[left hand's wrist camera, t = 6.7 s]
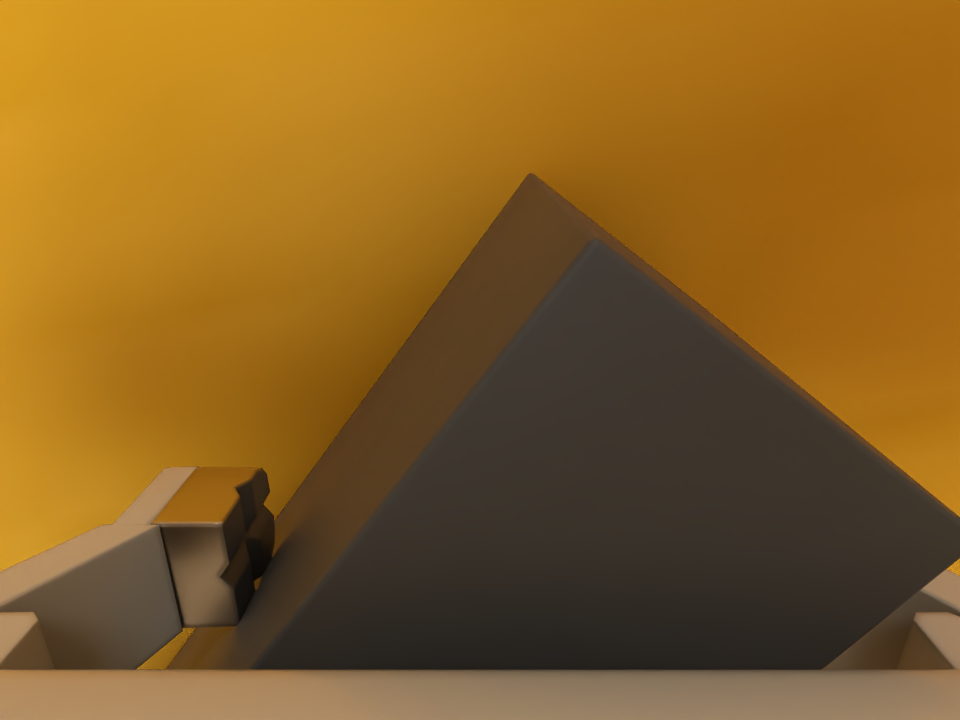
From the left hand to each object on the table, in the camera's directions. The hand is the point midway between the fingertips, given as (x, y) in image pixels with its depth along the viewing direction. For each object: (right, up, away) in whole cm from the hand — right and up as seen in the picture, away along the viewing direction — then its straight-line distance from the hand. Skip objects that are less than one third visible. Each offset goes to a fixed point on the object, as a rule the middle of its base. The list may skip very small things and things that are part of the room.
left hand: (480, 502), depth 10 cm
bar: (-14, -16, +10) cm, 23 cm away
